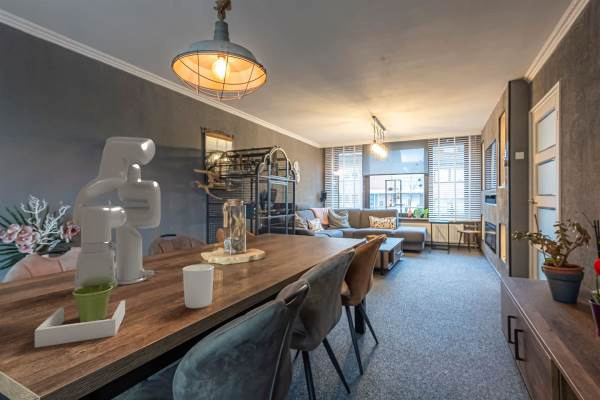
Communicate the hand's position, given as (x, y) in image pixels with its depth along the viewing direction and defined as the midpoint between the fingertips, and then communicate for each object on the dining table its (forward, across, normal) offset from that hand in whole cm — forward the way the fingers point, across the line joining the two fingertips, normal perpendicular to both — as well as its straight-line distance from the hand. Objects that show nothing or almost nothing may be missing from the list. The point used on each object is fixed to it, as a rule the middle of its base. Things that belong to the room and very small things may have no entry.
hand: (96, 308), depth 89 cm
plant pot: (+2, 0, +5) cm, 6 cm away
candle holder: (+2, -29, +3) cm, 29 cm away
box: (+1, 0, +11) cm, 11 cm away
